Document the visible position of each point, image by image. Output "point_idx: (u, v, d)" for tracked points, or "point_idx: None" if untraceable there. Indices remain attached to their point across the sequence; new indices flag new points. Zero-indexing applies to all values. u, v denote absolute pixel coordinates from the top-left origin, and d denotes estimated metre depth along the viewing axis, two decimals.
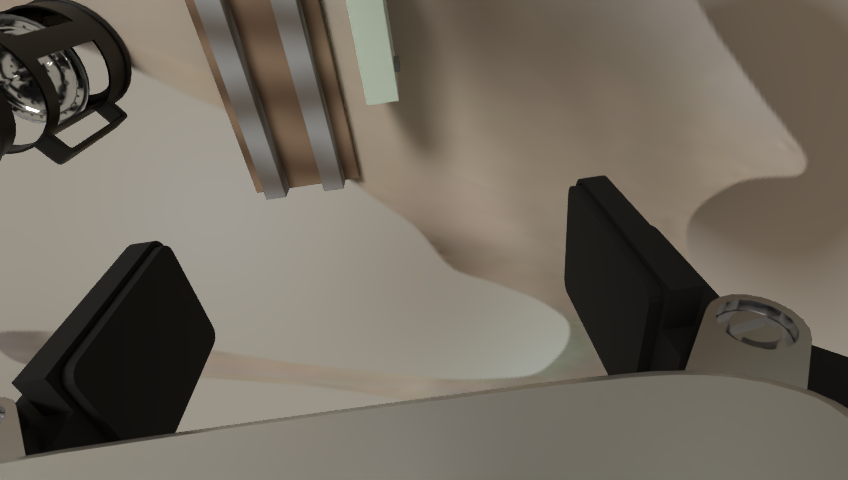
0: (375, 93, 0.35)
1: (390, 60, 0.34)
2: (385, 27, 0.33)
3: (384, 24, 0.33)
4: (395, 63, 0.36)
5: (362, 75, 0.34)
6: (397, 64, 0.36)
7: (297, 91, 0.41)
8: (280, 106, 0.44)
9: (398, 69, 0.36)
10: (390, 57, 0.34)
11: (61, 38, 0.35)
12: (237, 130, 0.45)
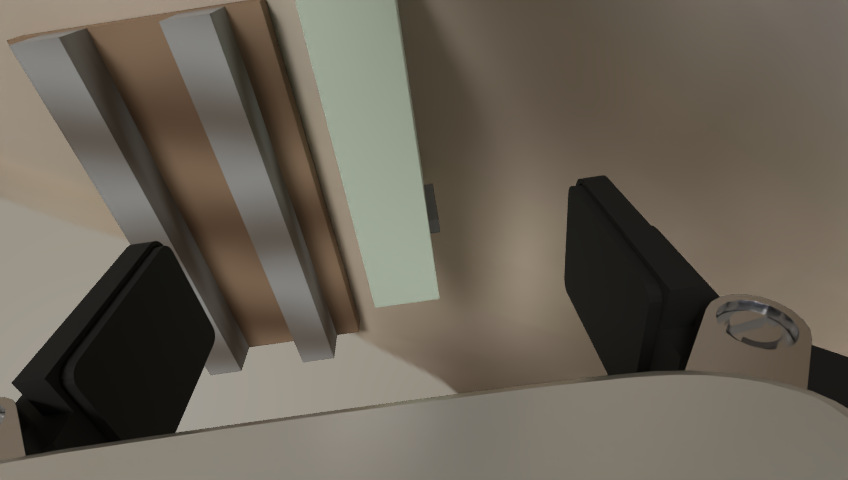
0: (391, 288, 0.17)
1: (426, 234, 0.16)
2: (418, 176, 0.15)
3: (416, 171, 0.14)
4: (431, 218, 0.18)
5: (366, 261, 0.16)
6: (435, 221, 0.18)
7: (249, 230, 0.23)
8: (225, 240, 0.26)
9: (437, 229, 0.18)
10: (426, 229, 0.16)
11: None
12: None
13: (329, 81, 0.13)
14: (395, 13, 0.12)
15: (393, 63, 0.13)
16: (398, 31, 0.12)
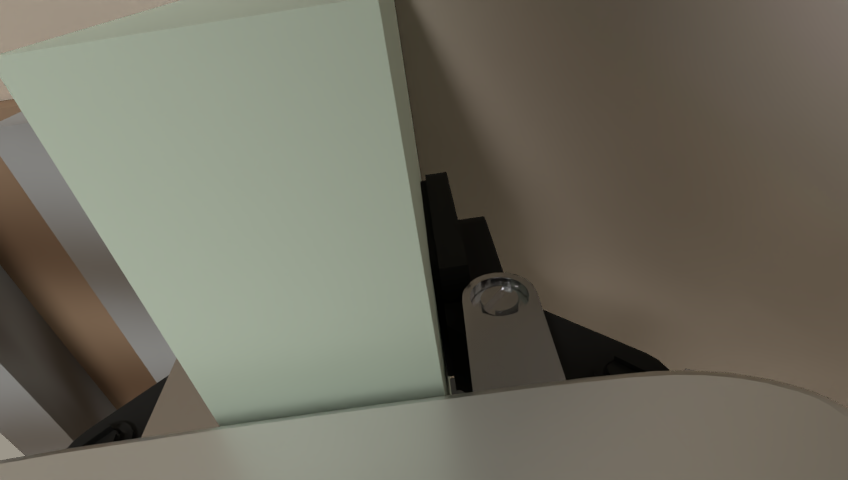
0: None
1: None
2: None
3: None
4: None
5: None
6: None
7: None
8: None
9: None
10: None
11: None
12: None
13: (236, 394, 0.05)
14: (416, 255, 0.04)
15: (410, 356, 0.05)
16: (423, 290, 0.04)
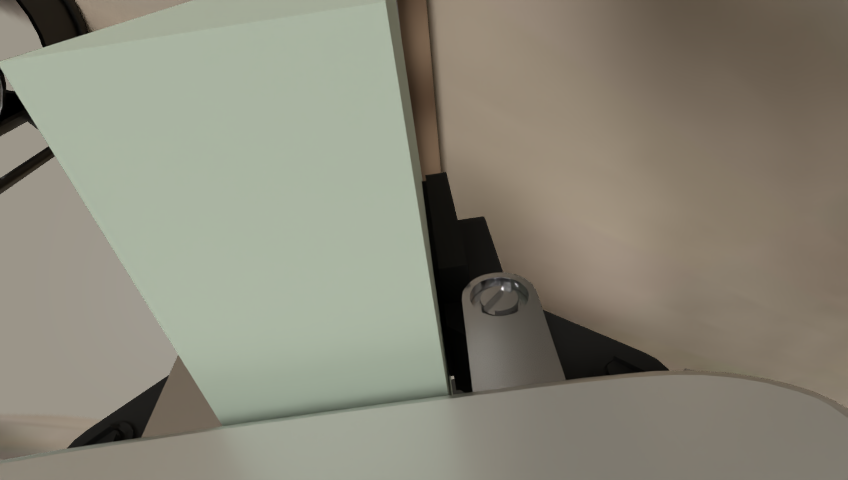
0: None
1: None
2: None
3: None
4: None
5: None
6: None
7: None
8: None
9: None
10: None
11: None
12: None
13: (241, 396, 0.05)
14: (421, 258, 0.04)
15: (414, 358, 0.05)
16: (428, 293, 0.04)
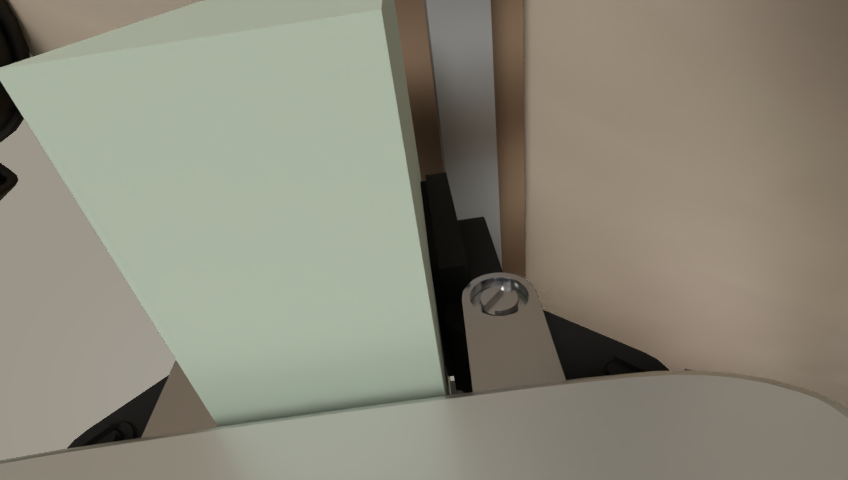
0: None
1: None
2: None
3: None
4: None
5: None
6: None
7: (443, 120, 0.16)
8: None
9: None
10: None
11: None
12: None
13: (238, 401, 0.05)
14: (418, 264, 0.04)
15: (411, 363, 0.05)
16: (425, 299, 0.04)
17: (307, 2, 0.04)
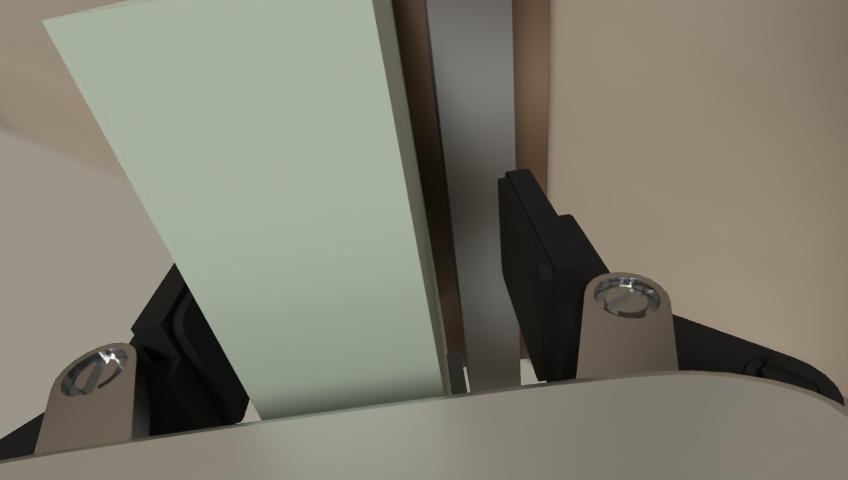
0: None
1: None
2: None
3: None
4: None
5: None
6: None
7: (451, 184, 0.13)
8: None
9: None
10: None
11: None
12: None
13: (246, 333, 0.05)
14: (403, 199, 0.04)
15: (400, 297, 0.05)
16: (411, 233, 0.05)
17: None
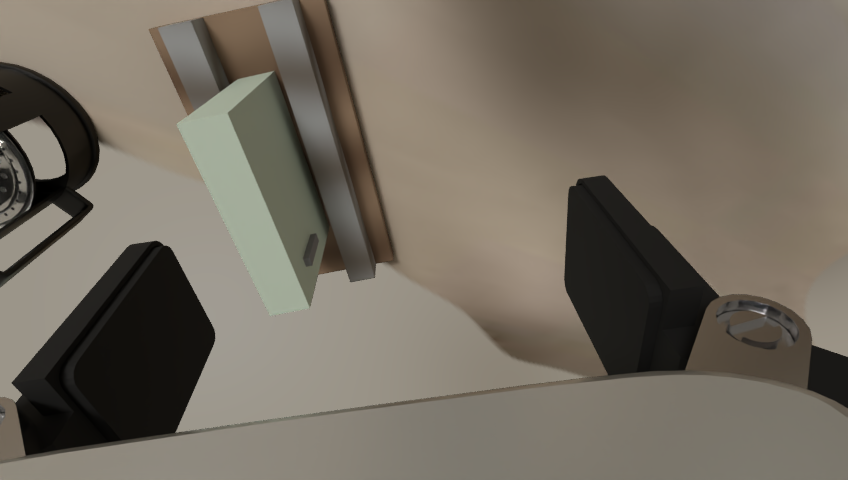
0: (277, 302, 0.27)
1: (290, 268, 0.26)
2: (276, 234, 0.25)
3: (274, 231, 0.25)
4: (305, 256, 0.28)
5: (257, 286, 0.27)
6: (307, 258, 0.28)
7: (312, 164, 0.31)
8: None
9: (310, 263, 0.28)
10: (289, 265, 0.26)
11: None
12: None
13: (214, 187, 0.23)
14: (243, 152, 0.22)
15: (248, 176, 0.23)
16: (247, 160, 0.23)
17: (222, 108, 0.23)
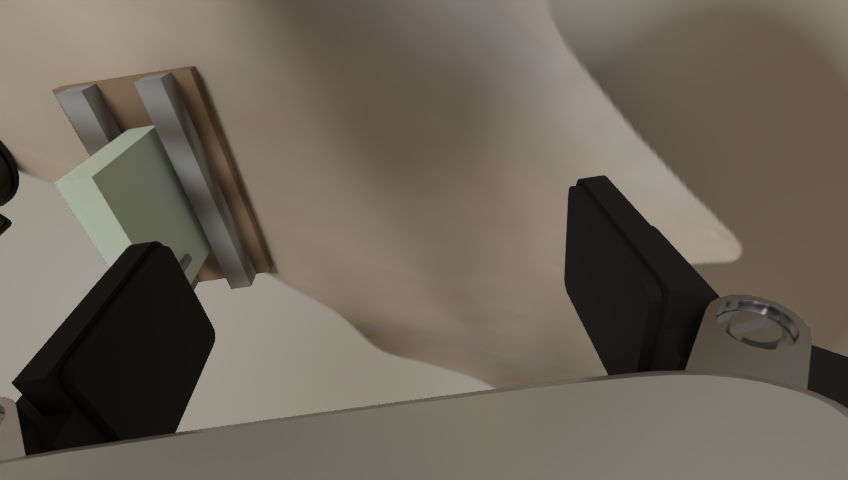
0: None
1: None
2: None
3: None
4: None
5: None
6: None
7: (189, 198, 0.40)
8: None
9: None
10: None
11: None
12: None
13: (88, 226, 0.32)
14: (106, 204, 0.31)
15: (112, 220, 0.31)
16: (110, 209, 0.31)
17: (92, 170, 0.31)
